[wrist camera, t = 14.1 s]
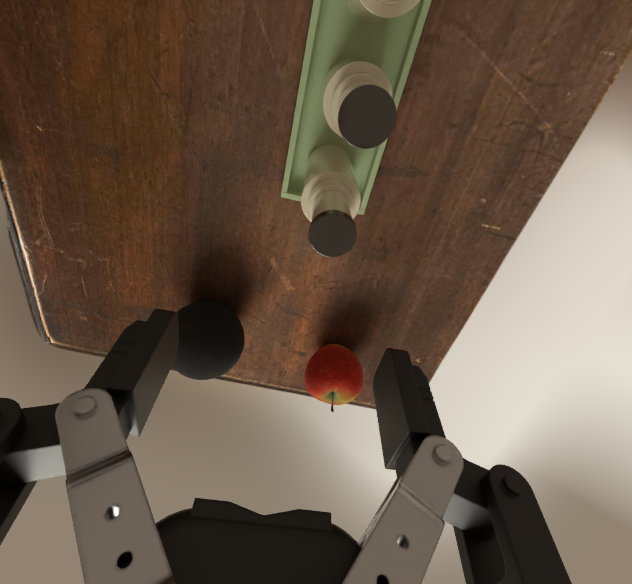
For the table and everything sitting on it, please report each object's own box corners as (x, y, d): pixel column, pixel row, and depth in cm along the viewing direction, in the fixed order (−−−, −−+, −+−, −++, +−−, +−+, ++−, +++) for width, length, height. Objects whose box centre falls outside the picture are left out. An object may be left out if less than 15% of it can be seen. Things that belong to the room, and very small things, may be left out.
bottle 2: (310, 139, 35) (304, 193, 22) (358, 150, 36) (379, 210, 23) (301, 186, 38) (290, 260, 25) (345, 196, 39) (357, 273, 26)
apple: (369, 342, 52) (378, 397, 44) (344, 376, 56) (348, 432, 48) (320, 324, 50) (319, 379, 42) (298, 360, 55) (294, 416, 46)
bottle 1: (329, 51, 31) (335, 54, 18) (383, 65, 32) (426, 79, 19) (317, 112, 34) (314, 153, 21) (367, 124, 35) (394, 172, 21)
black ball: (205, 273, 46) (179, 323, 37) (264, 315, 49) (253, 369, 41) (165, 315, 50) (134, 368, 42) (222, 351, 54) (204, 406, 45)
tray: (329, -91, 27) (330, -101, 25) (443, -55, 28) (451, -62, 26) (282, 190, 39) (280, 197, 37) (361, 208, 40) (363, 215, 38)
